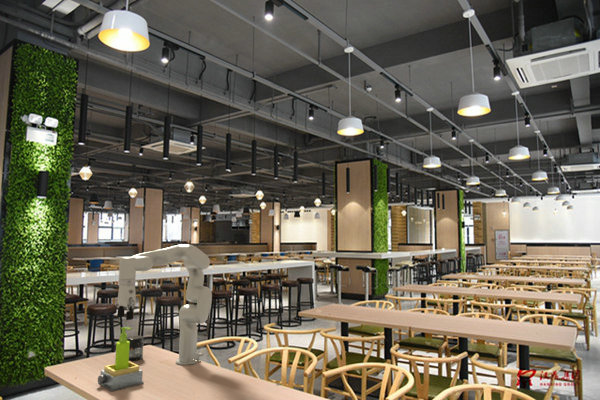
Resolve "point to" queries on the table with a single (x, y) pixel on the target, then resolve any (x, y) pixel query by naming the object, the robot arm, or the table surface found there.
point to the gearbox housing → (120, 377)
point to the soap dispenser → (122, 350)
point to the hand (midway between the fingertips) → (125, 318)
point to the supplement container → (135, 347)
